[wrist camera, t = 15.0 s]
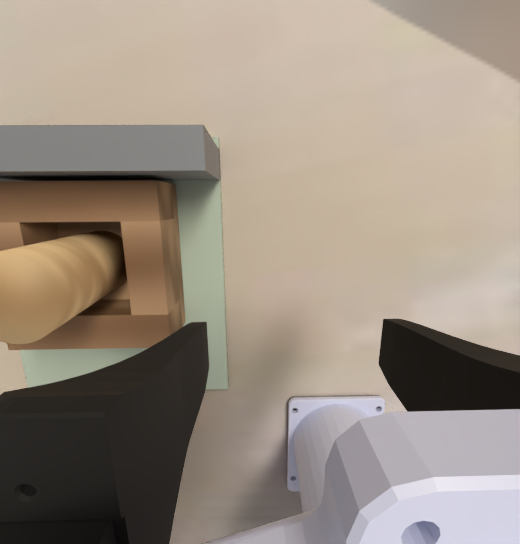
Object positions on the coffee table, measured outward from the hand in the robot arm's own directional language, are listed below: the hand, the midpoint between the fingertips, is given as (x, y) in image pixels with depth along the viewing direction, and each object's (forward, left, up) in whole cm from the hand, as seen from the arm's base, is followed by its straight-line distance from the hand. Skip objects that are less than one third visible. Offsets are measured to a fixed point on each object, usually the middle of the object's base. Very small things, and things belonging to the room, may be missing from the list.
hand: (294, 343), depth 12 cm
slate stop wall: (+8, +12, -10) cm, 18 cm away
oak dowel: (+2, +12, -9) cm, 15 cm away
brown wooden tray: (+2, +12, -10) cm, 16 cm away
